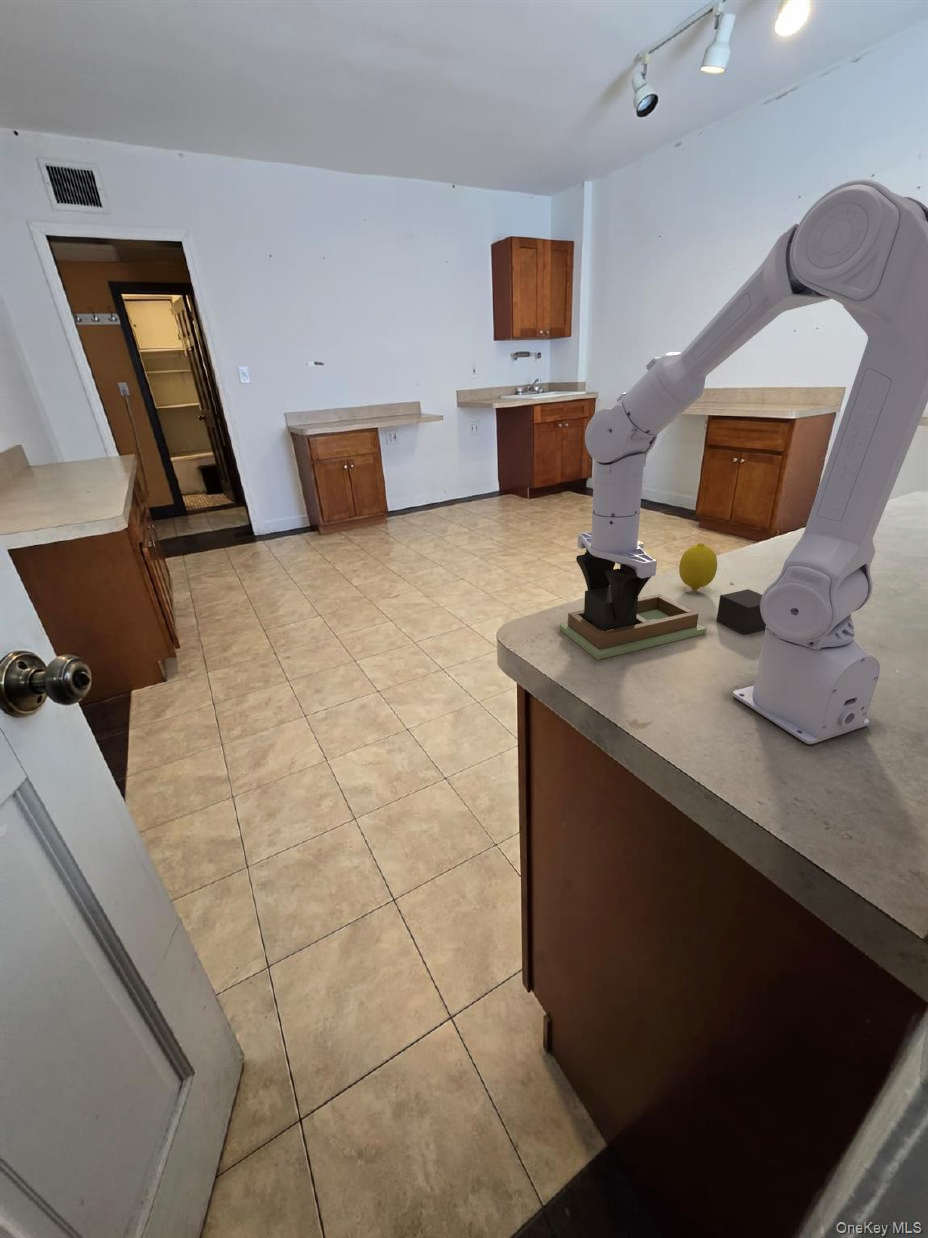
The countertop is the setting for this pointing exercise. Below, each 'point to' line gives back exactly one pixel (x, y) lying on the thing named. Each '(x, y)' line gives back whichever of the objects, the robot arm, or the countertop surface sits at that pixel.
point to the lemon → (698, 566)
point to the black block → (741, 611)
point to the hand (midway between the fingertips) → (609, 611)
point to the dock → (636, 628)
